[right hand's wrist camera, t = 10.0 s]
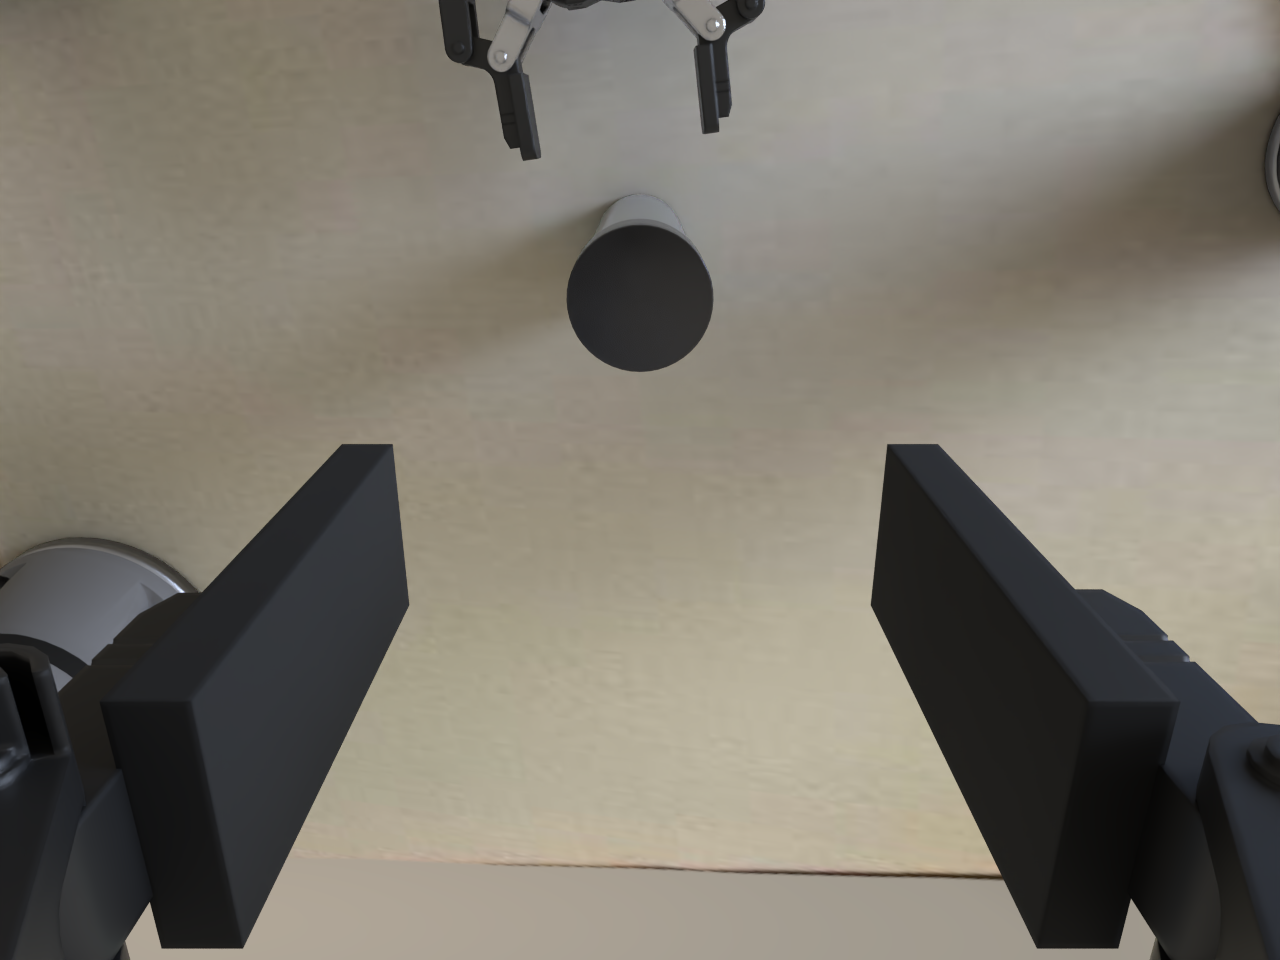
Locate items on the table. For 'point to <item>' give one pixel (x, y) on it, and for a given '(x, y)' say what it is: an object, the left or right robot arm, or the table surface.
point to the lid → (639, 295)
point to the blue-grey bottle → (639, 211)
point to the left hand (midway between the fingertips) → (620, 146)
